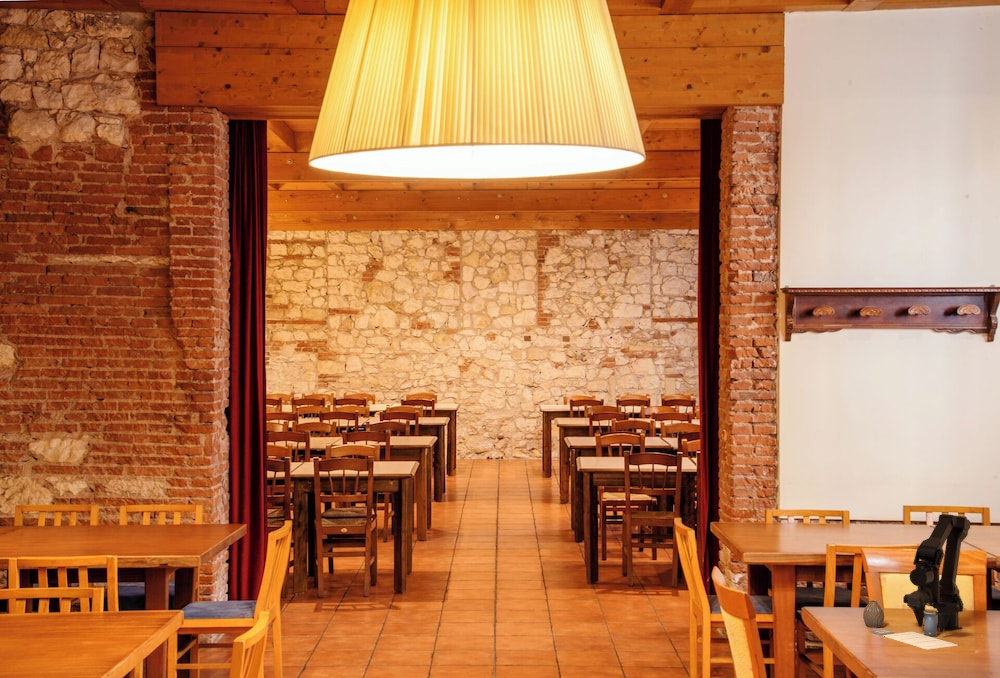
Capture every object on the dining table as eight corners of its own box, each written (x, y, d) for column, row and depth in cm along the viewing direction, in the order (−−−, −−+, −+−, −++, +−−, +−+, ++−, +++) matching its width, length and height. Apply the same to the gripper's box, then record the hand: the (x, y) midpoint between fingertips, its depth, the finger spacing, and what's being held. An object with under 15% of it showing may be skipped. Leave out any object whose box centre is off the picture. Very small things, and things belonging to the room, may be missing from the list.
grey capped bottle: (930, 633, 350) (930, 609, 350) (940, 636, 346) (940, 612, 347) (921, 634, 348) (920, 610, 349) (930, 637, 345) (930, 613, 345)
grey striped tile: (883, 630, 354) (883, 629, 354) (893, 633, 350) (893, 632, 350) (870, 632, 351) (870, 630, 351) (880, 635, 347) (880, 633, 347)
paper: (912, 632, 351) (912, 631, 351) (957, 645, 334) (957, 644, 334) (882, 636, 346) (882, 635, 346) (927, 649, 329) (927, 648, 329)
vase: (885, 629, 355) (885, 603, 356) (864, 628, 357) (864, 602, 357) (882, 624, 362) (882, 599, 362) (861, 623, 363) (861, 598, 364)
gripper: (891, 579, 353) (891, 625, 353) (934, 589, 336) (934, 638, 336) (915, 576, 358) (915, 622, 357) (959, 586, 341) (960, 634, 340)
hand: (930, 629), depth 347 cm, fingers open, 8 cm apart
